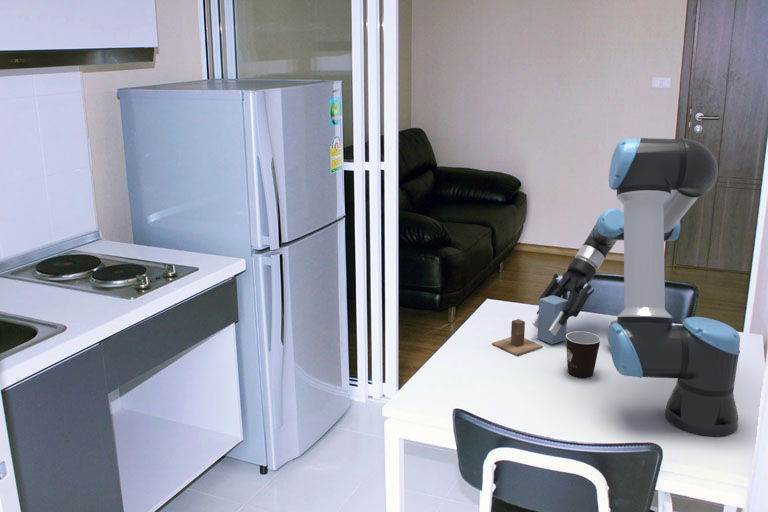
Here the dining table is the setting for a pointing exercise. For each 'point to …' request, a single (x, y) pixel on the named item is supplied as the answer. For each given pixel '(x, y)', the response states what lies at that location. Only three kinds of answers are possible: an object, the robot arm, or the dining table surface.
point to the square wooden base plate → (517, 340)
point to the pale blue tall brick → (551, 319)
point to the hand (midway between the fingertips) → (543, 329)
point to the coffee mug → (581, 353)
